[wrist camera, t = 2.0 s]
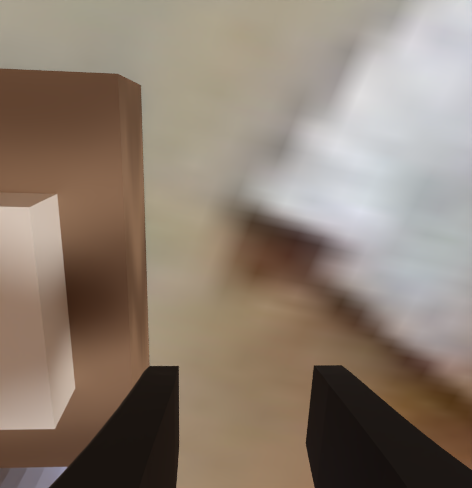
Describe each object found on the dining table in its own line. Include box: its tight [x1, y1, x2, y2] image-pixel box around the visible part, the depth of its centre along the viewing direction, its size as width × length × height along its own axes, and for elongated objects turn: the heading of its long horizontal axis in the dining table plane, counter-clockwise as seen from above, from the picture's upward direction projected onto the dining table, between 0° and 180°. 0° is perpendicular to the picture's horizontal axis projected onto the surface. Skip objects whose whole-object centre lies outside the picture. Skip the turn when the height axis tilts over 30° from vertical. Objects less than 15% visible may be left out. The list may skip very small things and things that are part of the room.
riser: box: [0, 69, 149, 468], centre depth 15 cm, size 14×9×4 cm, turn 178°
